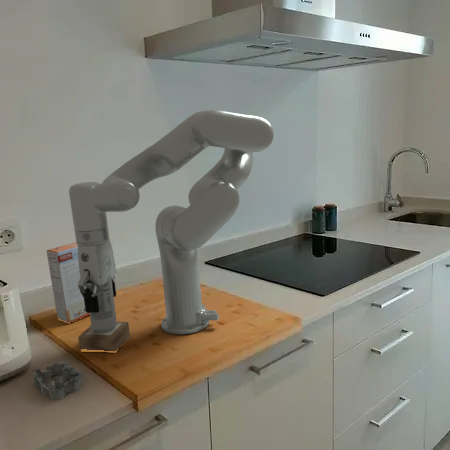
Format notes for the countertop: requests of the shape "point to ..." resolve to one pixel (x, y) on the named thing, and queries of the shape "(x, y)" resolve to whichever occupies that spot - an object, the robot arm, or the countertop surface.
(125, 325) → the rectangular tray
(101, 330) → the energy drink can
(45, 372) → the egg carton
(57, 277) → the cracker box
